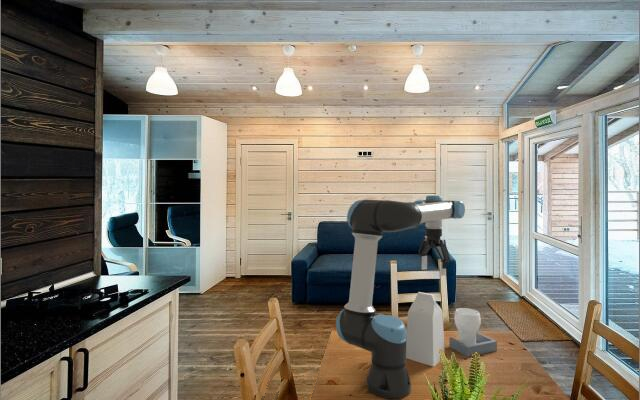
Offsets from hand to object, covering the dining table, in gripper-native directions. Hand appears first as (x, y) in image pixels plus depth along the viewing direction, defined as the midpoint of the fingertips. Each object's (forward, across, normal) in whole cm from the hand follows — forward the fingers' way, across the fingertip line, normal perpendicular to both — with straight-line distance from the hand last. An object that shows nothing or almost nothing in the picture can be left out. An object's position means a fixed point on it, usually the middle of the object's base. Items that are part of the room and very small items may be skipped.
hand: (433, 272), depth 173 cm
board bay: (+29, -22, -4) cm, 36 cm away
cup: (+29, -18, -4) cm, 34 cm away
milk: (+29, -20, +20) cm, 41 cm away
